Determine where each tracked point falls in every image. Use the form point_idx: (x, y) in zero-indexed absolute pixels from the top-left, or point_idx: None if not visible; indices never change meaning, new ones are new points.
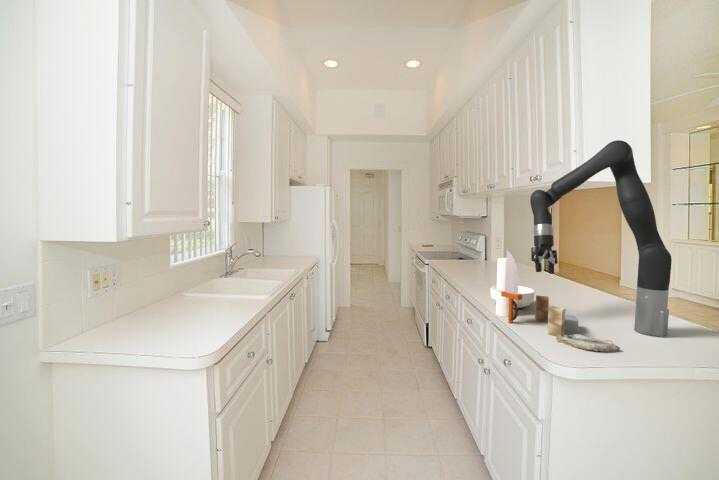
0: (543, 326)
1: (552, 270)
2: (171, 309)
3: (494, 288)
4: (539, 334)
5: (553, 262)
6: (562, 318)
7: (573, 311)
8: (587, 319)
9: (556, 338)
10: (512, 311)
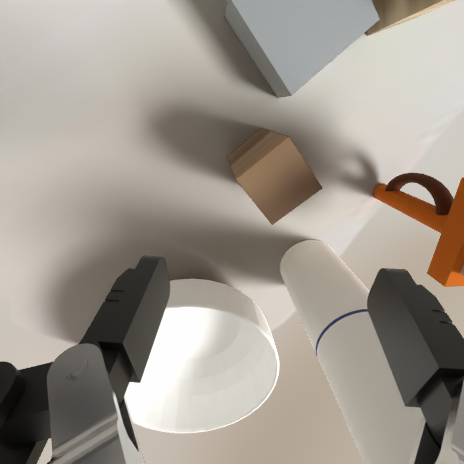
0: (327, 99)
1: (154, 283)
2: None
3: (207, 417)
4: (438, 37)
5: (89, 382)
6: None
7: (8, 178)
8: (51, 62)
9: None
10: (413, 197)
